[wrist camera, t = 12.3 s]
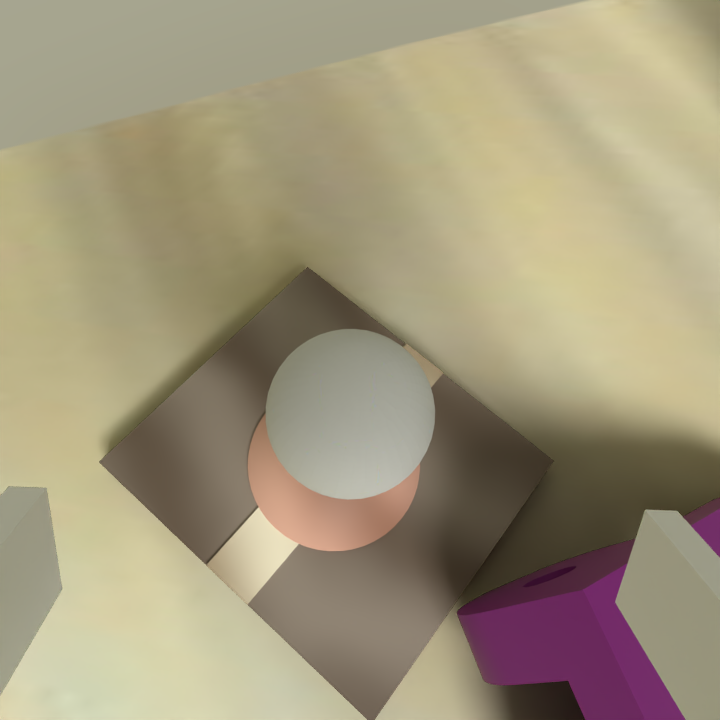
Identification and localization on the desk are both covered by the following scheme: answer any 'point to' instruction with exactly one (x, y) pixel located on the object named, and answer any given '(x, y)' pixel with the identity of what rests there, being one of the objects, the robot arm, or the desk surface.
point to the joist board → (327, 503)
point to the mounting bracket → (576, 632)
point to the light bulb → (350, 414)
